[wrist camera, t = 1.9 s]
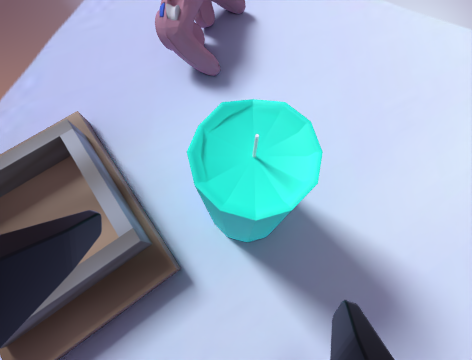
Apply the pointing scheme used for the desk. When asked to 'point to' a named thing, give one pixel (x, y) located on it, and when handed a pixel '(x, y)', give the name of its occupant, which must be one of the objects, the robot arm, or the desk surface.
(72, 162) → the holder base
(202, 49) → the video game controller
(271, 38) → the desk surface
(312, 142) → the candle
